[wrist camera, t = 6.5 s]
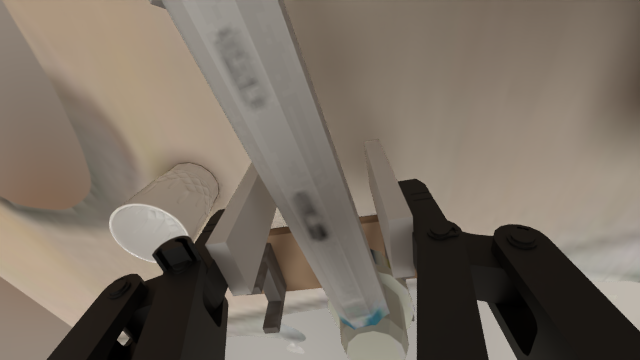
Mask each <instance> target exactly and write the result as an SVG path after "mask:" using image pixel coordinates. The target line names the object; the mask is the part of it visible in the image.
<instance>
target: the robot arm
mask: <svg viewBox="0 0 640 360" xmlns="http://www.w3.org/2000/svg"><path fill="white" fill-rule="evenodd" d="M364 146H365V154H366V162H367V170H368V177H369V185H370V189H371V193H372V197H373V201H374V205H375V208H376V212H377V216H378V220H379V224H380V228H381V232H382V235H383V239H384V243H385V247H386V251H387V255H388V259H389V262H390V266H391V270H392V274H393V278H401V277H410V276H415V269H416V272H417V360H489V359H488V354H487V349H486V345H485V339H484V334H483V329H482V324H481V320H480V315H479V309H478V305H477V300H479V301H485V302H487V303H488V305H489V307H490V309H491V311H492V313H493V315H494V317H495V318H496V320H497V322H498V324H499V326H500V328H501V330H502V332H503V333H504V335H505V337H506V339H507V341H508V343H509V345H510V347H511V348H512V350H513V352H514V354H515V356H516V358H517V360H640V331H639V330H638V329H637V328H636V327H635V326H634V325H633V324H632V323H631V322H630V321H629V320H628V319H627V318H626V317H625V316H624V315H623V314H622V313H621V312H620V311H619V310H618V309H617V308H616V307H615V306H614V305H613V304H612V303H611V302H610V301H609V300H608V299H607V297H606V296H605V295H604V294H603V293H602V292H600V290H599V289H597V287H596V286H595V285H594V284H593V283H592V282H591V281H590V280H589V279H588V278H587V277H586V276H585V275H584V274H583V273H582V272H581V271H580V270H579V269H578V268H577V267H576V266H575V265H574V264H573V263H572V262H571V261H570V260H569V259H568V258H567V257H566V256H565V255H564V254H563V253H562V252H561V251H560V249H559V248H558V247H557V246H556V245H555V244H554V243H553V242H552V241H551V240H550V239H549V238H548V237H547V236H545V235H544V234H543V233H541V232H540V231H538V230H535V229H533V228H531V227H527V226H523V225H513V224H508V225H504V226H500V227H499V228H498V229H496V230H495V232H494V236H486V235H476V234H470V233H466V232H463V231H462V230H461V228H460V227H458V226H457V225H456V224H455V223H452V222H450V221H447V219H446V218H445V216H444V215H443V213H442V211H441V210H440V208H439V206H438V205H437V203H436V202H435V200H434V199H433V197H432V195H431V193H429V190H428V188H427V187H426V185H425V184H424V183H422V182H421V181H419V180H417V179H411V180H404V181H398V182H397V180H396V178H395V175H394V173H393V171H392V169H391V166H390V164H389V162H388V160H387V157H386V155H385V153H384V151H383V148H382V146H381V144H380V142H379V139H376V140H370V141H365V142H364ZM276 208H277V206H276V204H275V202H274V200H273V198H272V197H271V195H270V193H269V191H268V190H267V188H266V186H265V184H264V182H263V181H262V179H261V177H260V175H259V173H258V172H257V170H256V168H255V166H254V165H253V163H251V165H250V166H249V168H248V170H247V172H246V174H245V175H244V177H243V179H242V181H241V182H240V184H239V186H238V188H237V189H236V191H235V193H234V195H233V196H232V198H231V200H230V202H229V204H228V205H227V207H226V209H222V210H218V211H217V212H216V213H215V214H214V215H213V216H212V217H211V218H210V219H209V221H208V223H207V224H206V227H205V228H204V229H203V231H202V233H201V234H200V236H199V237H198V239H197V241H196V242H195V244H194V243H193V241H192V239H191V238H190V237H189V236H184V235H183V236H177V237H174V238H172V239H170V240H168V241H166V242H164V243H163V244H161V245H160V246H159V247H158V248H157V249H156V250H155V251H154V253H153V254H152V256H153V258H154V259H155V260H156V262H157V263H158V265H159V266H160V267H161V269H162V270H163V275H161V276H158V277H155V278H153V279H150V280H147V281H143V279H142V278H141V277H140V276H139V275H138V274H129V275H126V276H123V277H121V278H119V279H117V280H115V281H114V282H113V283H111V284H110V285H109V286H108V287H107V288H106V289H105V290H104V291H103V292H102V293H101V294H100V295H99V296H98V298H97V299H96V300H95V301H94V302H93V304H92V305H91V306H90V307H89V309H88V310H87V311H86V312H85V313H84V315H83V316H82V317H81V318H80V320H79V321H78V322H77V323H76V324H75V326H74V327H73V328H72V329H71V331H70V332H69V333H68V334H67V336H66V337H65V338H64V339H63V340H62V341H61V343H60V344H59V345H58V347H57V348H56V349H55V350H54V351H53V352H52V354H51V355H50V356H49V358H47V360H225V346H226V332H227V318H228V301H227V299H226V297H225V293H226V290H227V288H228V287H229V289H230V291H231V293H232V295H233V296H238V295H247V294H252V291H253V288H254V284H255V281H256V277H257V274H258V270H259V267H260V263H261V260H262V256H263V253H264V249H265V246H266V242H267V239H268V235H269V232H270V228H271V225H272V222H273V218H274V215H275V211H276ZM122 331H124V332H125V333H126V335H127V336H128V337H129V340H128V341H127V343H126V344H125V345H124V346H123V345H121V344H120V343H119V342H118V341H117V338H118V337H119V335H120V334H121V332H122Z"/></svg>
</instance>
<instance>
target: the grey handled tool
mask: <svg viewBox="0 0 640 360" xmlns="http://www.w3.org/2000/svg"><path fill="white" fill-rule="evenodd" d="M149 1H150V3H151V4H153V5H156V6H159V7H161V8H164V9H167V11H168V13H169V15H170V16H171V18H172V20H173V22H174V24H175V25H176V27H177V29H178V31H179V33H180V34H181V36H182V38H183V40H184V41H185V43H186V45H187V47H188V49H189V50H190V52H191V54H192V56H193V57H194V59H195V61H196V63H197V65H198V66H199V68H200V70H201V72H202V74H203V75H204V77H205V79H206V81H207V82H208V84H209V86H210V88H211V90H212V91H213V93H214V95H215V97H216V99H217V100H218V102H219V104H220V106H221V107H222V109H223V111H224V113H225V115H226V116H227V118H228V120H229V122H230V124H231V125H232V127H233V129H234V131H235V132H236V134H237V136H238V138H239V140H240V141H241V143H242V145H243V147H244V148H245V150H246V152H247V154H248V156H249V157H250V159H251V161H252V163H253V165H254V166H255V168H256V170H257V172H258V173H259V175H260V177H261V179H262V181H263V182H264V184H265V186H266V188H267V190H268V191H269V193H270V195H271V197H272V198H273V200H274V202H275V204H276V206H277V207H278V209H279V211H280V213H281V215H282V216H283V218H284V220H285V222H286V223H287V225H288V227H289V229H290V231H291V232H292V234H293V236H294V238H295V239H296V241H297V243H298V245H299V247H300V248H301V250H302V252H303V254H304V256H305V257H306V259H307V261H308V263H309V264H310V266H311V268H312V270H313V272H314V273H315V275H316V277H317V279H318V281H319V282H320V284H321V286H322V288H323V289H324V291H325V293H326V295H327V297H328V310H329V312H330V314H331V316H332V318H333V320H334V322H335V324H336V326H337V327H339V328H340V333H341V343H342V345H343V347H344V350H345V352H346V354H347V356H348V358H349V360H405V359H406V355H407V351H408V346H409V343H408V336H407V329H408V328H410V325H411V321H412V318H413V314H414V311H415V309H414V305H413V302H412V299H411V296H410V293H409V290H408V287H407V284H406V282H405V281H404V280H403V279H401V278H393V274H392V270H391V266H390V262H389V260H387V259H386V258H385V257H384V256H383V255H382V252H380V251H376V250H372V249H370V248H369V245H368V242H367V239H366V236H365V233H364V231H363V228H362V225H361V222H360V219H359V216H358V213H357V211H356V208H355V205H354V202H353V199H352V196H351V193H350V190H349V188H348V185H347V182H346V179H345V176H344V173H343V170H342V168H341V165H340V162H339V159H338V156H337V153H336V150H335V147H334V145H333V142H332V139H331V136H330V133H329V130H328V127H327V124H326V122H325V119H324V116H323V113H322V110H321V107H320V104H319V102H318V99H317V96H316V93H315V90H314V87H313V84H312V81H311V79H310V76H309V73H308V70H307V67H306V64H305V61H304V59H303V56H302V53H301V50H300V47H299V44H298V41H297V38H296V36H295V33H294V30H293V27H292V24H291V21H290V18H289V15H288V13H287V10H286V7H285V4H284V1H283V0H149Z"/></svg>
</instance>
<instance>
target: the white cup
mask: <svg viewBox="0 0 640 360" xmlns="http://www.w3.org/2000/svg"><path fill="white" fill-rule="evenodd" d="M218 193H219V191H218V183H217V181H216V180H215V178H214V177H213V175H212V174H211V173H210V172H209V171H207V170H206V169H205V168H203V167H202V166H199V165H195V164H192V163H183V164H177V165H176V166H175V167H173V168H172V169H170V170H169V171H168V172H167V173H165V174H163V175H161V176H159V177H158V178H157V179H155V180H154V181H152V182H151V183H150V184H149V185H147V186H146V187H145V188H143V189H142V190H141V191H139V192H138V193H137V194H136V195H134V196H133V197H132V198H130V199H129V200H128V201H126V202H125V203H124V204H123V205H121V206H120V207H119V208H117V209H116V210H115V211H114V212H113V213H112V215H111V217H110V220H109V227H110V231H111V234H112V236H113V237H114V239H115V240H116V242H117V243H118V244H119V245H120V246H121V247H122V248H123V249H125V250H126V251H127V252H129V253H130V254H132V255H134V256H136V257H138V258H140V259H142V260H145V261H149V262H153V263H157V262H156V260H155V259H154V258H153V256H152V254H153V253H154V251H155V250H156V249H157V248H158V247H159V246H160V245H161V244H163V243H164V242H166V241H168V240H170V239H172V238H174V237H177V236H183V235H184V236H189V237H190V238H191V239H192V241H193V242H194V240H195V238H196V237H197V235H198V233H199V231H200V229H201V228H202V226H203V224H204V222H205V220H206V219H207V217H208V214H209V212H210V211H211V208H212V205H213V203H214V201H215V199H216V197H217V195H218Z"/></svg>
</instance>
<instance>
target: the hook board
mask: <svg viewBox="0 0 640 360" xmlns="http://www.w3.org/2000/svg"><path fill="white" fill-rule="evenodd" d="M359 219H360V222H361V225H362V228H363V231H364V233H365V236H366V239H367V242H368V245H369V248H370V249H372V250H376V251H380V252H382V255H383V256H384V257H385V258H386V259H387V260H389V259H388V255H387V251H386V247H385V243H384V239H383V235H382V232H381V228H380V224H379V220H378V216H377V215H373V216H365V217H359ZM412 278H417V272H416V269H415V276H410V277H401V279H403V280H404V281H405V282H406V279H412ZM314 288H322V286H321V284H320V282H319V281H318V279H317V277H316V275H315V273H314V272H313V270H312V268H311V266H310V264H309V263H308V261H307V259H306V257H305V256H304V254H303V252H302V250H301V248H300V247H299V245H298V243H297V241H296V239H295V238H294V236H293V234H292V232H291V231H290V229H289V227H282V228H274V229H270V232H269V235H268V239H267V242H266V246H265V249H264V253H263V256H262V260H261V263H260V267H259V270H258V274H257V277H256V281H255V284H254V288H253V291H252V294H247V295H253V294H265V295H266V297H267V300H268V306H267V311H266V316H265V320H264V325H263V330H264V332H265V334H266V333H277V332H279V331H280V325H281V319H282V312H283V306H284V300H285V294H286V291H295V290H305V289H314ZM412 321H414V314H413V318H412Z"/></svg>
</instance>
